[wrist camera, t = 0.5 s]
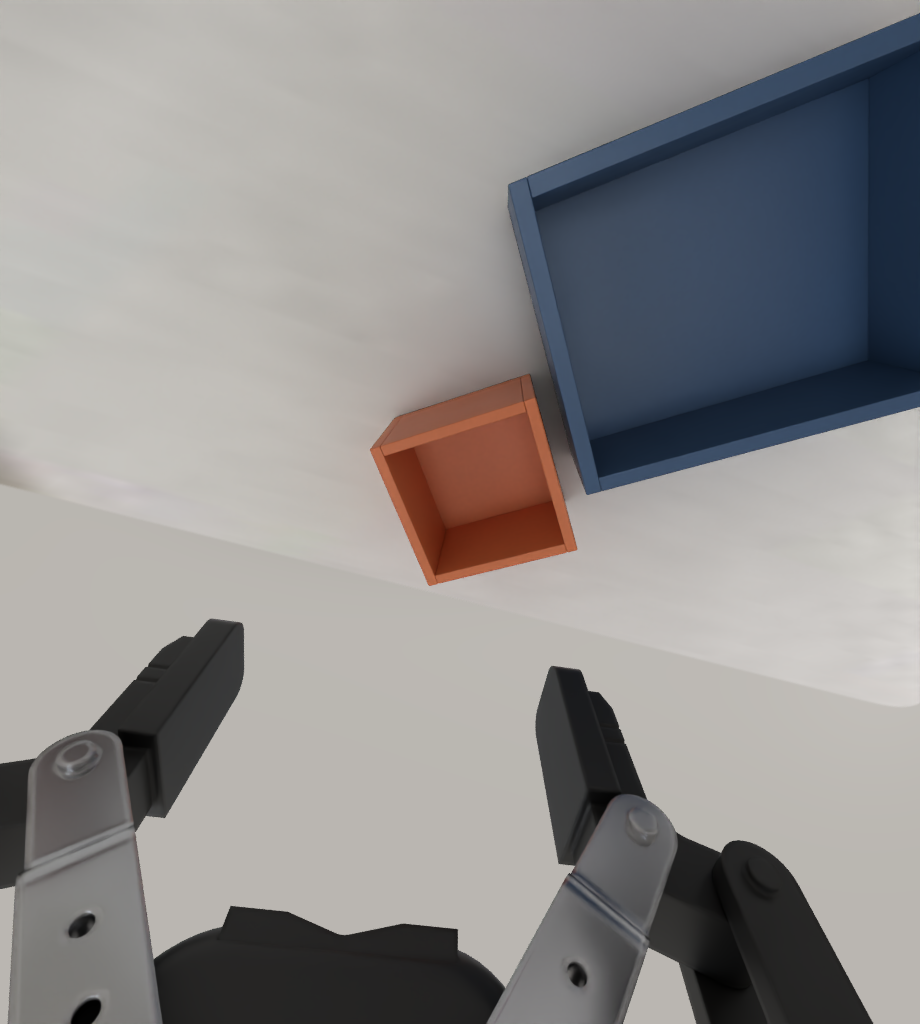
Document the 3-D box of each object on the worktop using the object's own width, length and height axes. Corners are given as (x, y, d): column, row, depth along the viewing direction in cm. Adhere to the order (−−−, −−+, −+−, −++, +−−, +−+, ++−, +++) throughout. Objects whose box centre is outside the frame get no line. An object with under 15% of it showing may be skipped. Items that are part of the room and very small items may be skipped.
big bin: (879, 54, 22) (1015, -28, 16) (876, 367, 28) (976, 392, 22) (507, 205, 26) (507, 184, 20) (571, 454, 32) (586, 495, 26)
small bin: (529, 373, 30) (535, 397, 24) (564, 502, 33) (577, 550, 27) (394, 417, 31) (369, 449, 26) (441, 534, 35) (428, 586, 29)
